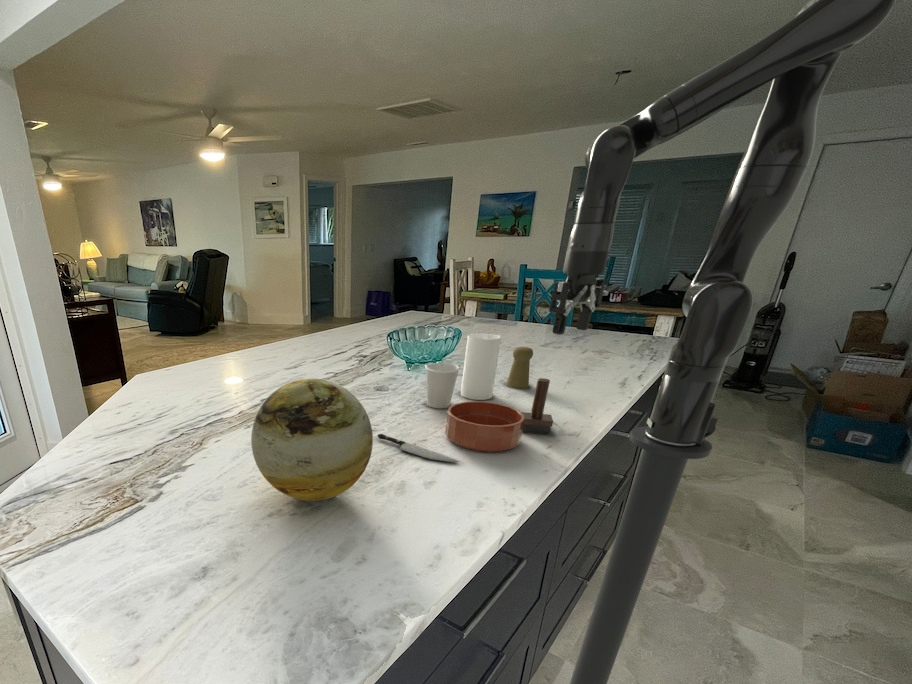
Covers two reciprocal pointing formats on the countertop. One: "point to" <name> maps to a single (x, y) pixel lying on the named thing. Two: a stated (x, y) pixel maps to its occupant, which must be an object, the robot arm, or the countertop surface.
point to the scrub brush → (538, 411)
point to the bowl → (484, 426)
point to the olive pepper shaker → (520, 368)
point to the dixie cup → (440, 384)
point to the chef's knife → (418, 450)
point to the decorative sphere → (312, 439)
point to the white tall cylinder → (480, 366)
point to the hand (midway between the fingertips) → (570, 331)
